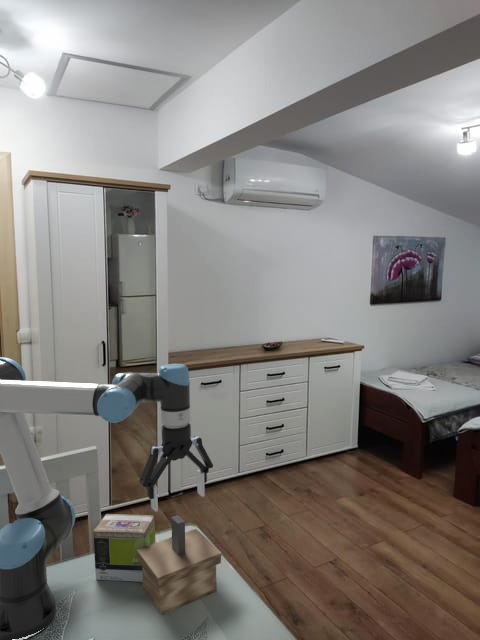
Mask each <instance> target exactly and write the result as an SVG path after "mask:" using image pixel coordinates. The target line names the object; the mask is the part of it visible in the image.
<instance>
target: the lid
mask: <svg viewBox="0 0 480 640" xmlns="http://www.w3.org/2000/svg"><path fill="white" fill-rule="evenodd" d="M137 556H138V562H139V563H140V564H141V566H142V567H143V568H144V570H145V571H146V572H147V574H148V575H149V577H150V578H151V579H152V581H153V582H154V583H155V585H156V586H157V587H158V588H161V587H164V586H166V585H168V584H171V583H173V582H176V581H178V580H181V579H183V578H186V577H188V576H191V575H193V574H195V573H198V572H200V571H203V570H205V569H208V568H210V567H213V566H215V565H216V566H218V565H220V564H221V563H222V552H221V551H220V550H219V549H218V548H217V547H216V546H215V545H214V544H213V543H212V542H211V541H210V540H209V539H208V538H207V537H206V536H204V534H203V533H201V532H200V530H198V529H197V528H195V529H191V530H188V531H186V521H185V520H184V519H183V518H182V517H181V516H180V515H179V514H178V515H173V516H171V537H168V538H166V539H163V540H160V541H158V542H156V543H154V544H151V545H148V546H145V547H143V548H140V549H137Z"/></svg>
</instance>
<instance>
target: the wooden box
mask: <svg viewBox="0 0 480 640" xmlns="http://www.w3.org/2000/svg"><path fill="white" fill-rule="evenodd" d="M142 589H143V590H144V592H145V593H146V595H147V597H148V598H149V600H151V602H152V604H153V605H154V606H155V608H156V609H157V611H158V613H159V614H160V615H161V616H164V615H166V614H169V613H170V612H172V611H174V610H177V609H179V608H182V607H184V606H185V605H188V604H190V603H193V602H194V601H198V600H199V599H202V598H204V597H207V596H209V595H210V594H213V593H215V592H217V589H218V588H217V565H215V566H213V567H210V568H208V569H205V570H203V571H200V572H198V573H195V574H193V575H191V576H188V577H186V578H183V579H181V580H178V581H176V582H173V583H171V584H168V585H166V586H164V587H161V588H158V587H157V586H156V585H155V583H154V582H153V581H152V579H151V578H150V577H149V575H148V574H147V572H146V571H145V570H144V568H143V582H142Z"/></svg>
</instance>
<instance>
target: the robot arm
mask: <svg viewBox="0 0 480 640" xmlns="http://www.w3.org/2000/svg"><path fill="white" fill-rule="evenodd" d="M189 376H190V375H189V368H188V367H187V365H185V364H182V363H166V364H163V365H161V366H160V367H159V371H157V372H130V371H127V372H119V373H117V374H115V375H114V376H113V379H112V382H111V384H110V383H94V382H93V383H90V382H89V383H87V382H70V381H69V382H67V381H66V382H65V381H62V382H61V381H45V380H43V381H41V380H26V379H27V378H26V377H27V376H26V372H25V370H24V368H23V367H22V366H21V365H20V364H19V363H18V362H17V361H16V360H14V359H12V358H9V357H3V356H0V456H1V459H2V461H3V464H4V467H5V469H6V471H7V475H8V477H9V480H10V483H11V486H12V489H13V491H14V494H15V497H16V500H17V502H18V504H17V507H16V509H15V510H14V512H15V515H16V518H17V519H16V520H14V521H13V522H12V523H10V522H8V523H7V524H5V525H3V527H1V528H0V640H12V639H19V638H22V637H26V636H28V635H31V634H34V633H36V632H38V631H40V630H42V629H43V628H45V627H46V626H48V625H49V624H50V623H52V622H53V621H54V619H55V618H56V614H57V604H56V603H57V602H56V599H55V596H54V594H53V592H52V590H51V588H50V586H49V583H48V579H47V563H48V561H49V560H50V558H51V557H52V556H53V554H54V553H55V552H56V551H57V549H58V547H60V545H61V544H62V543H63V542H64V541H65V540H66V539H67V537H68V536H69V535H70V533H71V531H72V529H73V528H74V526H75V523H76V522H75V521H76V510H75V507H74V505H73V503H72V502H71V501H70V500H69V498H68V499H67V498H66V497H65V496H63V495H61V493H60V491H59V490H58V489H55V488H53V487H52V486H51V483H50V480H49V478H48V474H47V473H46V469H45V467H44V465H43V462H42V459H41V456H40V453H39V451H38V448H37V445H36V442H35V439H34V436H33V434H32V431H31V429H30V425H29V424H28V420H27V418H26V415H25V414H39V415H59V416H63V415H64V416H85V417H86V416H87V417H100V418H102V419H103V420H104V421H105V422H109V423H111V424H112V423H114V424H115V423H119V422H123V420H125V419H127V418H129V417H130V416H131V415H132V414H133V413H134V411H135V410H136V409H137V408H138V407H139V406H140V405H141V404H142V403H160V423H161V445H160V446H155V445H151V446H150V447H149V448H150V449H149V457H148V459H147V461H146V464H145V467H144V468H143V471H142V473H141V476H140V479H139V481H138V482H139V484H141V486H142V487H144V488H146V495H147V497H148V499H149V500H150V508H151V509H152V510H153V511H154V512H155V513H156V512H159V505H158V504H159V502H158V486H157V485H156V484H157V482H158V480H159V478H160V477H161V476H162V474H163V472H164V471H165V469H166V468H167V466H168V465H170V464H171V463H172V461H174V462H175V461H177V460H180V459H181V460H182V459H185V457H187V458H188V459H189V460H190V461H191V462H192V463H193V464H194V465H195V466H197V468H199V469H197V470H196V483H197V484H196V486H197V487H196V488H197V490H196V491H197V494H198V495H199V496H200V497H202V498H204V497H206V495H205V494H206V492H205V491H206V489H205V483H207V481H208V475H207V474H208V473H209V472H210V469H212V468H213V467H214V464H213V462H212V460H211V459H210V457H209V454H208V453H207V450H206V449H205V447H204V446H203V441H202V439H203V438H201V437H200V436H198V435H194V436H193V438H191V437H192V435H191V434H192V431H191V424H190V423H191V404H190V400H191V399H190V398H191V397H190V384H191V382H190V378H189ZM192 446H194V447H195V449H196V450H197V453H198V454H199V456H200V458H201V460H202V462H203V463H202V462H201V461H200V459H198V458H197V457H196V456H195V455H194V454H193V453H192V452H191V451H190V449H191V448H192ZM161 452H162V454H161ZM160 455H161V456H160ZM159 456H160V458H159ZM158 458H159V461H158ZM50 625H51V624H50ZM50 625H49V626H50ZM49 626H48V627H49Z"/></svg>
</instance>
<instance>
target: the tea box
mask: <svg viewBox="0 0 480 640" xmlns="http://www.w3.org/2000/svg"><path fill="white" fill-rule="evenodd" d="M155 524H156V522H155V515H153V514H149V515H148V514H124V513H123V514H120V513H119V514H118V513H117V514H114V513H113V514H112V513H106V514H105V515H104V517H103V518H102V519H101V520H100V522H99V523H98V525H96V527H95V528H94V529H93V531H92V533H93V552H94V553H93V554H94V569H95V570H94V572H95V580H99V581H101V580H103V581H120V582H121V581H122V582H139V583H143V567H142V566H141V564H140V563H139V562H138V556H137V549H140V548H143V547H145V546H148V545H151V544H154V543H157V542H156V529H155V528H156V525H155Z"/></svg>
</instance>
